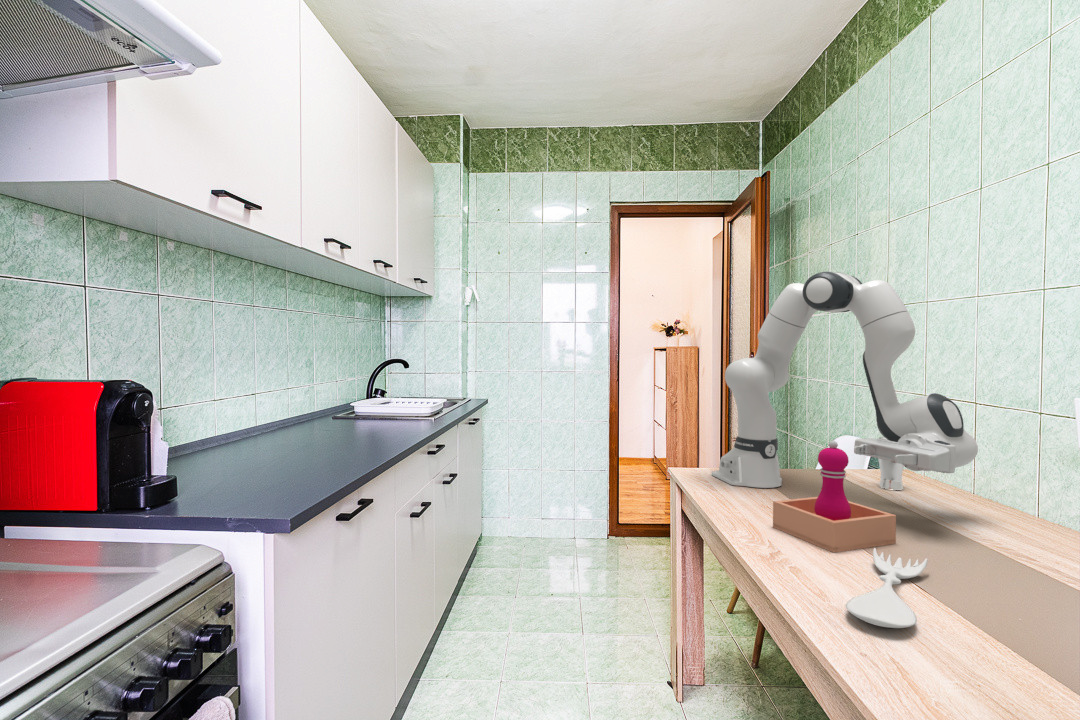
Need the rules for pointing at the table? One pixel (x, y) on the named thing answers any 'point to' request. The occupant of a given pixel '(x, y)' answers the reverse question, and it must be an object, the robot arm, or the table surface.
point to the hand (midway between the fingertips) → (874, 454)
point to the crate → (835, 525)
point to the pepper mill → (833, 484)
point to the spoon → (887, 596)
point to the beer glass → (890, 474)
